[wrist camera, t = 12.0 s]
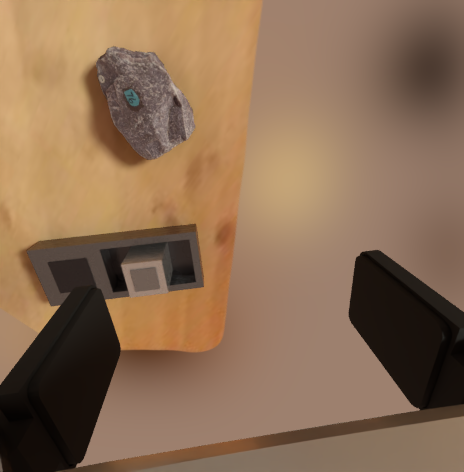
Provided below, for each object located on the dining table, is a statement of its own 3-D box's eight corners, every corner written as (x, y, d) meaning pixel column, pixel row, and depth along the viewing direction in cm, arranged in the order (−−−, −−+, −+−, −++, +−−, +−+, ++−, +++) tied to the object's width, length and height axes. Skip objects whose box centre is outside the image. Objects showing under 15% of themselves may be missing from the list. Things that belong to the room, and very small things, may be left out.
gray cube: (132, 244, 38) (120, 265, 33) (167, 240, 39) (161, 261, 33) (139, 273, 40) (129, 298, 35) (172, 269, 41) (168, 293, 35)
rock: (147, 30, 29) (138, 16, 25) (203, 127, 34) (203, 129, 29) (89, 72, 30) (70, 65, 26) (151, 161, 35) (143, 167, 30)
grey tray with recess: (39, 241, 37) (25, 251, 34) (196, 223, 38) (195, 232, 36) (61, 293, 41) (50, 306, 38) (203, 276, 42) (203, 287, 39)
